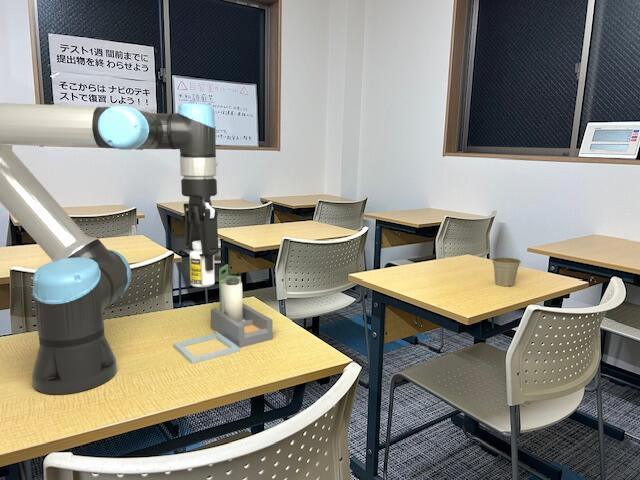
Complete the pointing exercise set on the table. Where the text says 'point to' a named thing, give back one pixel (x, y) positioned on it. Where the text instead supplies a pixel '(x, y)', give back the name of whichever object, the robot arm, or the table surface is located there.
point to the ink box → (222, 280)
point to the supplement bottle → (196, 265)
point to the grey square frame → (194, 359)
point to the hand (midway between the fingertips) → (202, 280)
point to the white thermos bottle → (233, 299)
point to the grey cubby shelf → (243, 327)
